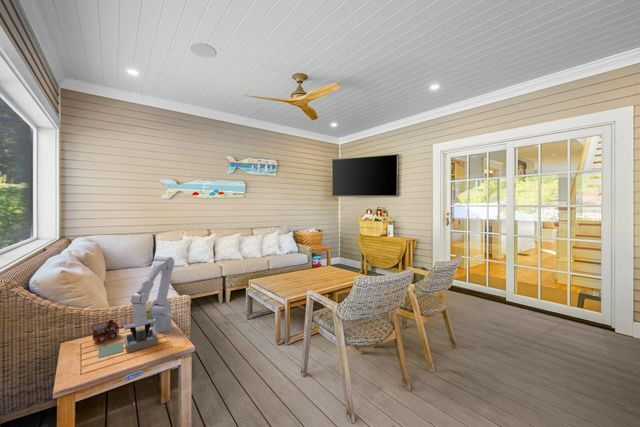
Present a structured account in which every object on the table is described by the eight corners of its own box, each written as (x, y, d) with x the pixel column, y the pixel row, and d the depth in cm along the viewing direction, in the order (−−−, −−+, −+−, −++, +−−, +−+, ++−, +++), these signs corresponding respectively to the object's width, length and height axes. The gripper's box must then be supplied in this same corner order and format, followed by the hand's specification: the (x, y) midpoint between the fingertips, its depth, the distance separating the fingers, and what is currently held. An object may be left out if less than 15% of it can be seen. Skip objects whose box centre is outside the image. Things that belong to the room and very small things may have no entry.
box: (144, 338, 156) (143, 325, 156) (145, 344, 149) (145, 331, 149) (135, 340, 154) (135, 327, 153) (137, 346, 146) (136, 333, 146)
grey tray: (152, 332, 164) (152, 326, 164) (157, 347, 146) (157, 341, 146) (124, 338, 156) (124, 332, 156) (126, 356, 138) (126, 349, 138)
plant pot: (148, 329, 168) (148, 315, 168) (143, 324, 174) (142, 311, 174) (164, 324, 175) (164, 310, 175) (159, 320, 182) (159, 307, 181)
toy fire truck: (121, 337, 158) (120, 319, 158) (93, 345, 149) (93, 326, 148) (117, 333, 163) (116, 316, 162) (90, 341, 153) (89, 323, 153)
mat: (122, 343, 151) (122, 342, 151) (123, 352, 142) (123, 351, 142) (98, 349, 145) (98, 347, 145) (98, 359, 136) (98, 357, 136)
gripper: (124, 320, 143) (124, 346, 144) (156, 313, 152) (156, 338, 152) (123, 316, 149) (124, 341, 149) (154, 310, 158) (155, 333, 158)
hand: (140, 339), depth 151 cm, fingers closed on box, 4 cm apart
